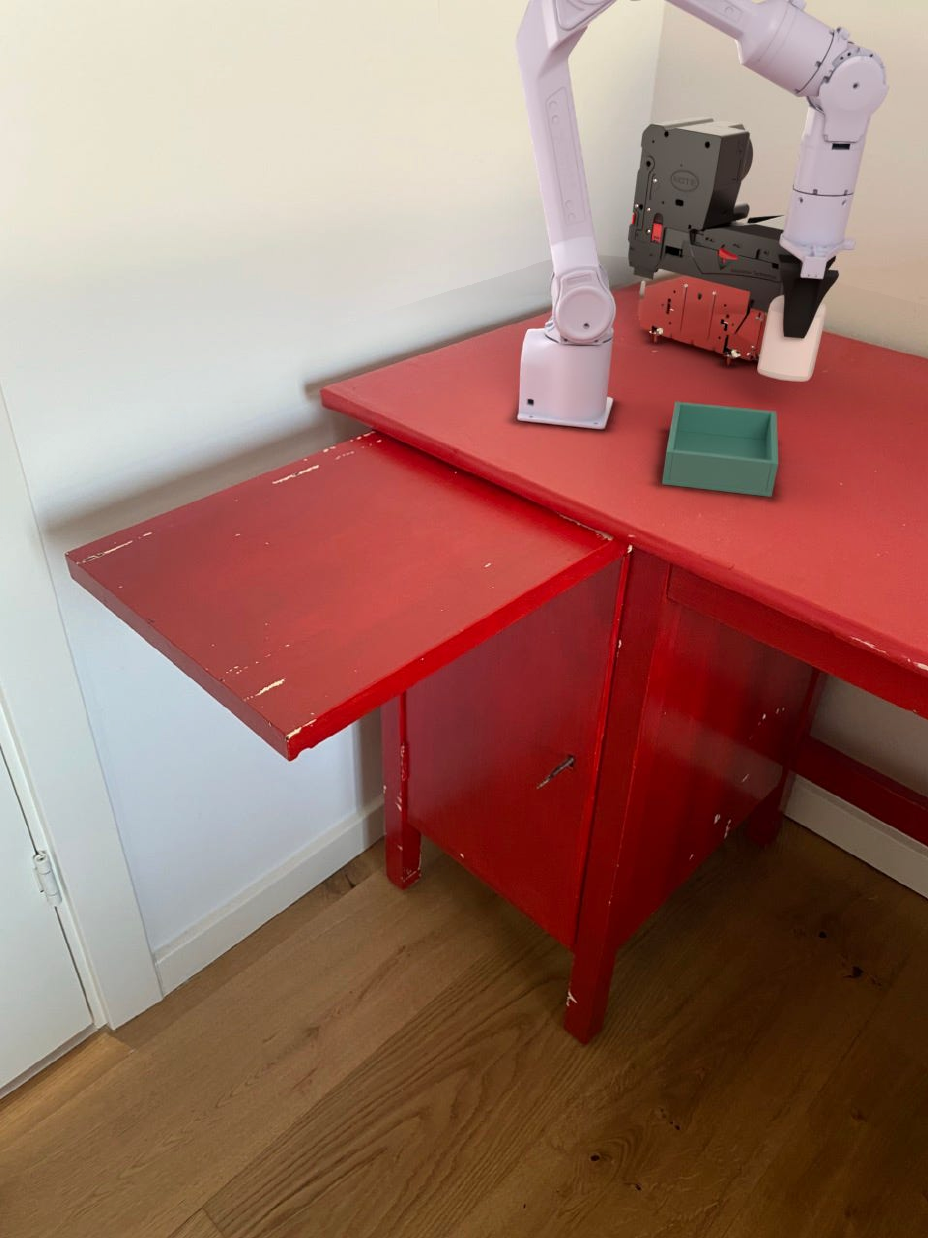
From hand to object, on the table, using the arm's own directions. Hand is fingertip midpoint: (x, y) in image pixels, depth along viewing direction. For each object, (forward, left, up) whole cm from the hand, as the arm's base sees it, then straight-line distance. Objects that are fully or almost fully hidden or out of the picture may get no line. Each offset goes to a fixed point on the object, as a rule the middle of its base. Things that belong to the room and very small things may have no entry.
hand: (793, 330), depth 101 cm
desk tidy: (-6, -13, -10) cm, 17 cm away
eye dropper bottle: (0, 0, -5) cm, 5 cm away
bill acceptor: (-8, +22, -10) cm, 25 cm away
